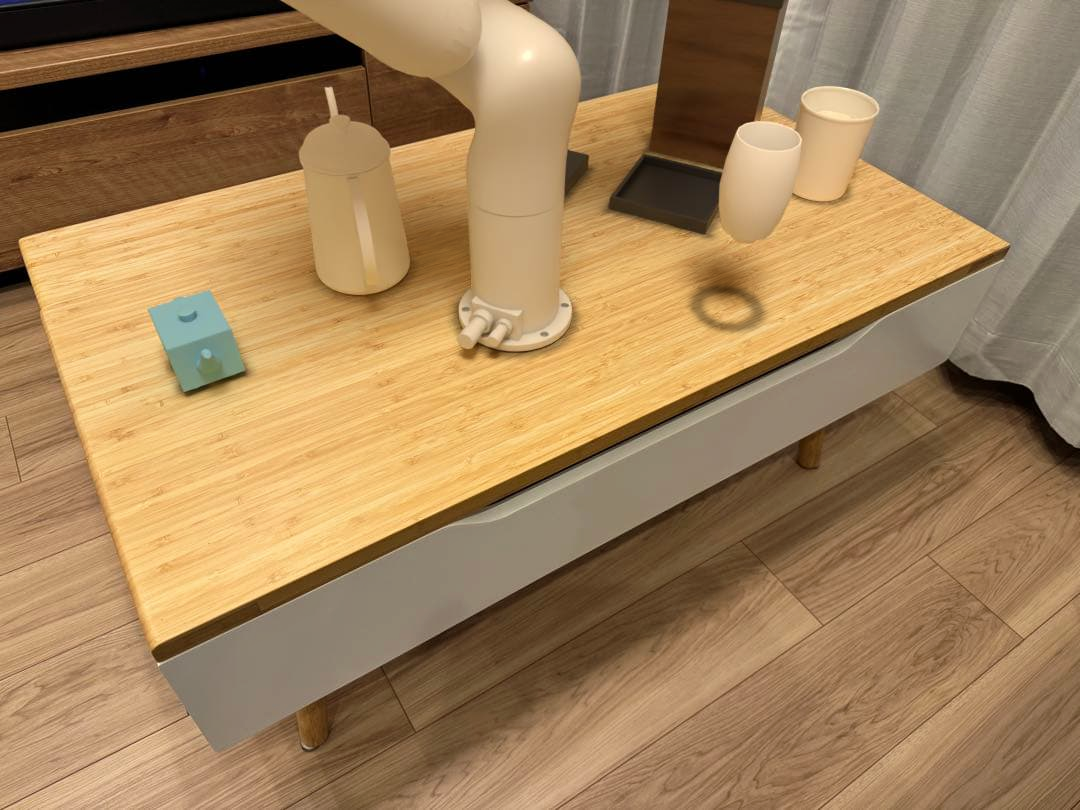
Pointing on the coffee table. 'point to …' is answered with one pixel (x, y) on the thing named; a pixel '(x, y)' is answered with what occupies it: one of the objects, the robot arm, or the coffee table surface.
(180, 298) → the teal peg block
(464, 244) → the coffee table surface
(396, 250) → the coffeepot
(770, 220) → the cream vase
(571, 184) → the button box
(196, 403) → the coffee table surface
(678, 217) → the drip pan
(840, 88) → the cream open tapered cylinder
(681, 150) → the column
